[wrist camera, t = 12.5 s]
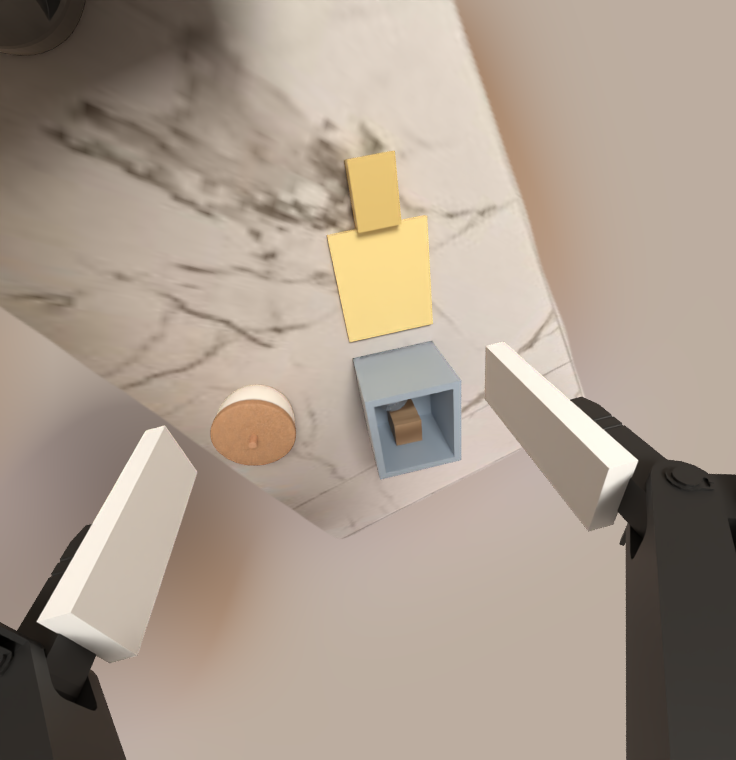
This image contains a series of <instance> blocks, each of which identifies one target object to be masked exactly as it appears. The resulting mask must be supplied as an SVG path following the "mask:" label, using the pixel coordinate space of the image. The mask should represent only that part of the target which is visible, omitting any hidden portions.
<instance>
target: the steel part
mask: <svg viewBox="0 0 736 760" xmlns="http://www.w3.org/2000/svg"><path fill="white" fill-rule="evenodd" d="M406 402H407V400H403V401H398V402H394V403H390V404H385V405H381V408H382V409H384V410H386V411H396V410H399V409H400V408H402V407H403V406H404V405H405V404H406Z"/></svg>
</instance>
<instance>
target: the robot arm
mask: <svg viewBox="0 0 736 760" xmlns="http://www.w3.org/2000/svg"><path fill="white" fill-rule="evenodd" d="M84 3H85V0H0V52H2V53H7V54H14V55H32V54H39V53H43V52H46V51H49V50H51V49H53V48H55V47H56V46H58V45H60V44H61V43H62V42H63V41H65V40H66V39H67V38H68V37H69V35H70V34H71V33H72V32H73V30H74V29H75V27H76V25H77V23H78V21H79V19H80V17H81V14H82V11H83V7H84ZM485 400H486V401H487V402H488V404H489V405H490V406H491V408H492V409H493V410H494V411H495V413H496V414H497V415H498V417H499V418H500V419H501V420H502V422H503V423H504V424H505V425H506V427H507V428H508V429H509V431H510V432H511V433H512V434H513V436H514V437H515V438H516V440H517V441H518V442H519V443H520V445H521V446H522V447H523V448H524V450H525V451H526V452H527V454H528V455H529V456H530V457H531V458H532V460H533V461H534V463H535V464H536V465H537V466H538V468H539V469H540V470H541V471H542V473H543V474H544V475H545V477H546V478H547V479H548V480H549V482H550V483H551V484H552V486H553V487H554V488H555V489H556V491H557V492H558V493H559V495H560V496H561V497H562V498H563V499H564V501H565V502H566V504H567V505H568V506H569V507H570V509H571V510H572V511H573V512H574V514H575V515H576V516H577V518H578V519H579V520H580V521H581V523H582V524H583V525H584V527H585V528H586V529H587V530H588V531H592V530H595V529H598V528H602V527H606V526H610V525H613V524H614V521H615V519H616V516H617V513H620V515H622V517H623V518H624V519H625V520H626V521H627V522H628V524H627V526H626V528H625V531H624V533H623V535H622V538H621V541H620V545H623V546H624V545H625V543H626V760H736V475H731V474H708V473H707V472H705V471H704V470H702V469H700V468H698V467H696V466H694V465H691V464H688V463H685V462H682V461H674V460H667V459H666V458H664V457H663V456H662V455H660V454H659V453H658V452H657V451H655V450H654V449H653V448H652V447H651V446H649V445H648V444H647V443H646V442H645V441H643V440H642V439H641V438H640V437H638V436H637V435H636V434H635V433H633V432H632V431H631V430H630V429H629V428H627V427H626V426H623V425H622V423H621V422H620V421H619V420H617V419H616V418H615V417H612V416H611V414H610V413H609V412H607V411H606V410H605V409H604V408H603V407H601V406H600V405H599V404H597V403H595V402H592V401H590V400H588V399H586V398H584V397H579V398H575V399H571V400H569V399H568V398H567V397H566V396H565V395H564V394H562V393H561V392H560V391H559V390H558V389H557V388H556V387H554V386H553V385H552V384H551V383H550V382H549V381H548V380H547V379H545V378H544V377H543V376H542V375H541V374H540V373H539V372H537V371H536V370H535V369H534V368H533V367H532V366H531V365H530V364H528V363H527V362H526V361H525V360H524V359H523V358H522V357H520V356H519V355H518V354H517V353H516V352H515V351H514V350H513V349H511V348H510V347H509V346H508V345H507V344H506V343H505V342H500V343H496V344H492V345H488V346H486V357H485ZM196 475H197V471H196V469H195V468H194V466H193V465H192V463H191V462H190V460H189V459H188V458H187V456H186V455H185V453H184V452H183V450H182V449H181V448H180V446H179V445H178V443H177V442H176V440H175V439H174V438H173V436H172V435H171V433H170V432H169V430H168V429H167V428H166V426H162V427H158V428H154V429H150V430H146V431H145V433H144V435H143V436H142V438H141V440H140V441H139V443H138V445H137V447H136V448H135V450H134V452H133V454H132V456H131V457H130V459H129V461H128V462H127V464H126V466H125V468H124V470H123V471H122V473H121V475H120V476H119V478H118V480H117V482H116V483H115V486H114V487H113V489H112V491H111V492H110V494H109V496H108V498H107V499H106V501H105V503H104V505H103V506H102V508H101V510H100V512H99V513H98V515H97V517H96V519H95V520H94V522H93V524H90V525H86V526H85V527H84V528H83V529H82V530H81V531H80V532H79V533H78V534H77V536H76V537H75V538H74V539H73V540H72V541H71V542H70V544H69V546H68V547H67V549H66V550H65V552H64V554H63V555H62V557H61V558H60V563H58V564H57V565H56V567H55V568H54V570H53V572H52V573H51V574H52V576H51V577H50V578H48V580H47V582H46V583H45V585H44V587H43V588H42V590H41V592H40V594H39V595H38V597H37V598H36V600H35V602H34V604H33V605H32V607H31V609H30V610H29V612H28V613H27V615H26V617H25V618H24V620H23V622H22V623H21V625H20V627H19V629H18V630H17V631H16V630H14V629H12V628H10V627H8V626H6V625H4V624H2V623H1V622H0V760H126V757H125V755H124V752H123V749H122V746H121V743H120V741H119V737H118V735H117V732H116V729H115V726H114V723H113V720H112V717H111V714H110V711H109V709H108V706H107V703H106V700H105V697H104V694H103V691H102V689H101V686H100V683H99V680H98V677H97V675H96V674H95V673H94V672H93V671H92V670H90V668H91V666H92V664H93V662H94V659H95V657H96V656H98V657H99V658H101V659H103V660H105V661H106V662H108V663H112V662H116V661H120V660H123V659H127V658H130V657H134V656H137V655H138V652H139V649H140V646H141V643H142V640H143V637H144V634H145V631H146V628H147V625H148V622H149V619H150V616H151V613H152V609H153V607H154V604H155V600H156V597H157V594H158V591H159V588H160V585H161V582H162V579H163V576H164V573H165V570H166V567H167V564H168V561H169V558H170V555H171V552H172V549H173V546H174V542H175V539H176V536H177V533H178V530H179V527H180V524H181V521H182V518H183V515H184V512H185V509H186V506H187V503H188V500H189V496H190V494H191V491H192V487H193V484H194V481H195V478H196Z"/></svg>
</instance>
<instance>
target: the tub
mask: <svg viewBox="0 0 736 760" xmlns="http://www.w3.org/2000/svg"><path fill="white" fill-rule="evenodd" d="M353 362H354V367H355V372H356V377H357V381H358V386H359V391H360V396H361V401H362V405H363V410H364V415H365V420H366V425H367V429H368V433H369V437H370V441H371V445H372V449H373V453H374V457H375V461H376V465H377V469H378V473H379V477H380V480H381V479H385V478H389V477H393V476H397V475H401V474H405V473H410V472H414V471H418V470H422V469H426V468H430V467H434V466H438V465H443V464H447V463H451V462H455V461H459V460H461V380H460V378H459V377H458V375H457V374H456V373H455V371H454V370H453V369H452V367H451V366H450V365H449V363H448V362H447V361H446V359H445V358H444V357H443V355H442V354H441V353H440V351H439V350H438V349H437V347H436V346H435V345H434V343H433V342H432V341H429V342H425V343H420V344H416V345H411V346H407V347H402V348H398V349H393V350H389V351H384V352H379V353H375V354H370V355H366V356H361V357H357V358H353ZM407 399H412V401H413V404H414V406H415V408H416V410H417V412H418V414H419V416H420V418H421V423H422V440H421V441H417V442H412V443H407V444H403V445H398V446H397V445H396V442H395V439H394V436H393V433H392V431H391V428H390V425H389V422H388V416H387V411H386V410H384V409H382V408H381V405H385V404H390V403H394V402H398V401H403V400H407Z"/></svg>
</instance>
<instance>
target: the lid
mask: <svg viewBox="0 0 736 760" xmlns="http://www.w3.org/2000/svg"><path fill="white" fill-rule="evenodd" d="M344 162H345V168H346V174H347V180H348V186H349V192H350V198H351V204H352V210H353V216H354V222H355V228H356V229H354V230H349V231H344V232H340V233H335V234H330V235H327V238H328V243H329V248H330V252H331V257H332V262H333V267H334V271H335V276H336V281H337V285H338V290H339V295H340V300H341V304H342V309H343V314H344V318H345V323H346V328H347V333H348V337H349V341H350V342H353V341H358V340H362V339H367V338H371V337H376V336H380V335H385V334H389V333H394V332H398V331H403V330H407V329H412V328H416V327H421V326H425V325H430V324H433V319H432V300H431V281H430V263H429V244H428V225H427V216H425V215H423V216H418V217H413V218H408V219H403V220H401V213H400V202H399V192H398V181H397V170H396V159H395V151H388V152H383V153H378V154H372V155H367V156H362V157H357V158H352V159H346V160H344Z"/></svg>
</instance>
